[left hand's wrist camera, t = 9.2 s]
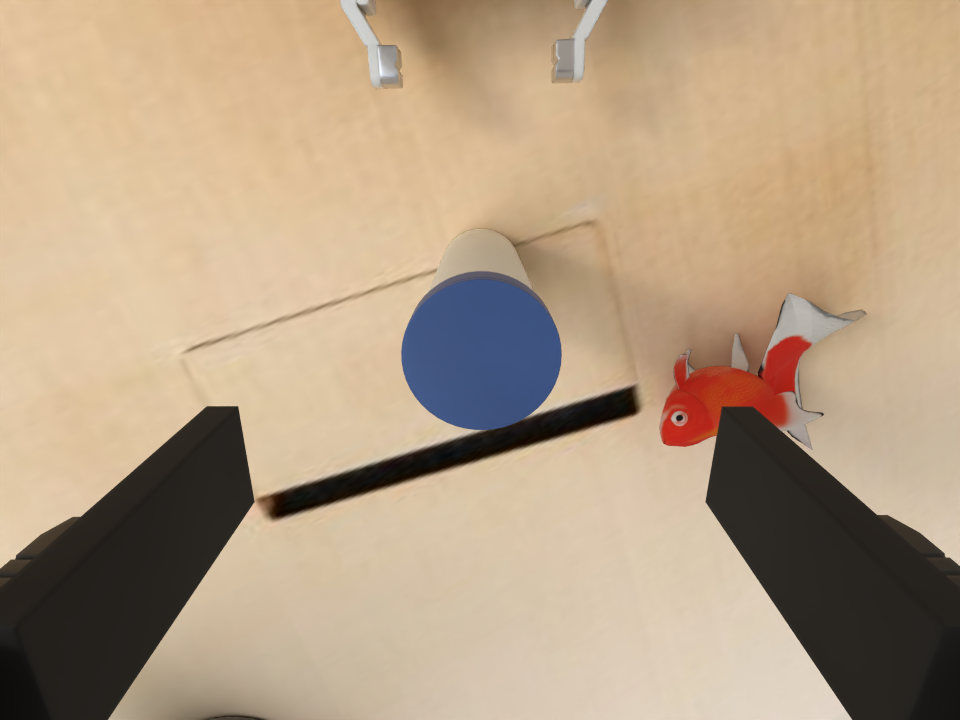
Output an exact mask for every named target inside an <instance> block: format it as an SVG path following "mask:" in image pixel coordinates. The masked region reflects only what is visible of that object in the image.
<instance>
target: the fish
mask: <svg viewBox="0 0 960 720" xmlns="http://www.w3.org/2000/svg"><path fill="white" fill-rule="evenodd" d="M865 315H866V312H865V311H863V310H857V311H852V312H846V313H843V314H841V315H838V316H835V315H832V314H830V313H828V312H825V311H823V310H821V309H820V308H818V307H817V306H815V305H814V304H813V303H811V302H810V301H808V300H806V299H803V298H800V297H798V296H795V295H793V294H790V293H788V295H787V297H786V299H785V300H784V302H783V304H782V307H781V311H780V315H779V319H778V323H777V326H776V329H775V331H774V334H773V336H772V338H771V341H770V343H769V346H768V348H767V351H766V353H765V356H764V359H763V361H762V364H761V366H760V369H759V371H758V376H756V375H753V374H751V373H749V372H748V371H749V363H748V360H747V357H746V355H745V352H744V350H743V347H742V344H741V341H740V338H739V335H738V334H735V339H734V343H733V348H732V364H731V367H727V366H713V367H707V368H701V369H698V370H696V371H695V369H694V368H693V367H692V366H691V365H690V364H689V363H688V359H689V356H690V353H691V349H688V350H687V351H686V352H685V354H684V355H680V356H679V357H678V358H677V361H676V364H675V366H674V371H673V373H674V378H675V381H676V385H675V386H674V387H673V389H672V391H671V392H670V394H669V396H668V397H667V400H666V403H665V406H664V409H663V412H662V415H661V421H660V435H661V438H662V441H663V443H664V444H666V445H668V446H682V447H686V446H691V445H694V444H698V443H700V442H702V441H703V440H705V439H707V438H710V437H712V436H717V432H718V426H719V420H720V415H721V409H722V406H753V407H754V408H756V409H757V410H758V411H759V412H760V413H761V414H762V415H764V416H765V417H766V418H767V419H768V420H769V421H770V422H771V423H773V424H774V425H775V426H776V427H777V428H778V429H779V430H781V431H787V432H788V433H789V434H790V435H791V436H792V437H793V438H795V439H796V440H798V441H799V442H801V443H803V444H804V445H806V446H807V447H809V448H810V449H812V446H811V442H810V439H809V435H808V432H807V428H806V425H805V424H806V423H809V422H811V421H813V420H815V419H817V418H819V417H821V416H823V415H824V414H823V413H820V412H810V411H806V410H803V408H802V402H801V395H800V389H799V363H800V359H801V356H802V354H803V353H804V351H806V350H807V349H808V348H810V347H811V346H813V345H814V344H816V343H817V342H819V341H820V340H822V339H824V338H825V337H827V336H828V335H830V334H832V333H834V332H835V331H837V330H839V329H841V328H844V327H846V326H847V325H849V324H851V323H853V322H854V321H856V320H858V319H860V318H862V317H864V316H865ZM812 450H813V449H812Z"/></svg>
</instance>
